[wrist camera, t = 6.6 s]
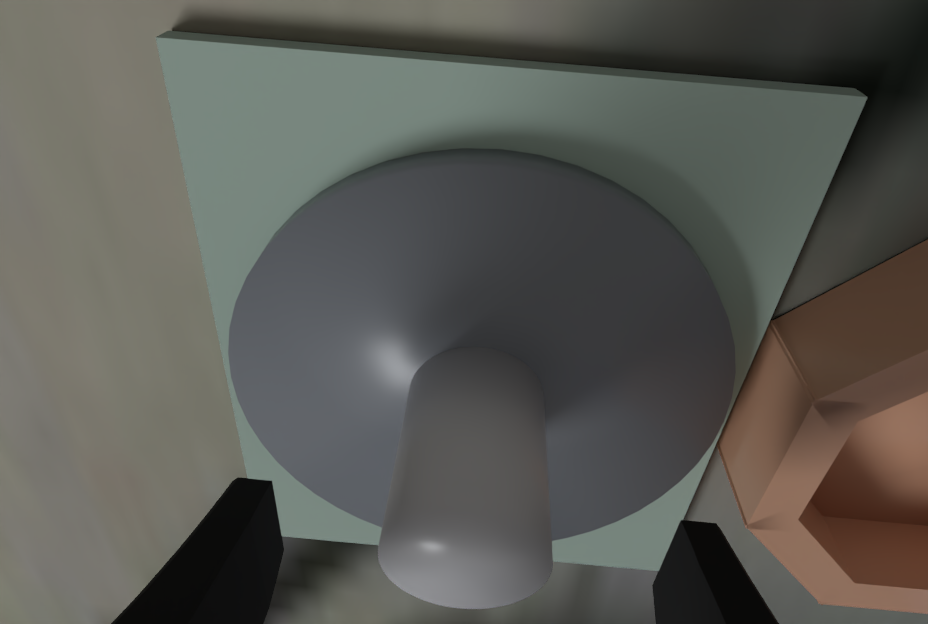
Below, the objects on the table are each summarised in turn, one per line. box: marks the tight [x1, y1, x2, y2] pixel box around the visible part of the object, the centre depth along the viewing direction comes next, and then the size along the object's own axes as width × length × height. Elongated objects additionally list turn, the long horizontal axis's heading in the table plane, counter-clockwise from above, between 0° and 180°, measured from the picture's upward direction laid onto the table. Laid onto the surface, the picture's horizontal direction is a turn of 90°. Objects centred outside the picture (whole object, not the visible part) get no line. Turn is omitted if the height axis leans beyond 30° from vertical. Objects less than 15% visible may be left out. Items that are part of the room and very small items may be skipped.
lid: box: [228, 148, 736, 609], centre depth 13 cm, size 11×11×5 cm
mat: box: [156, 31, 868, 571], centre depth 15 cm, size 12×14×1 cm
